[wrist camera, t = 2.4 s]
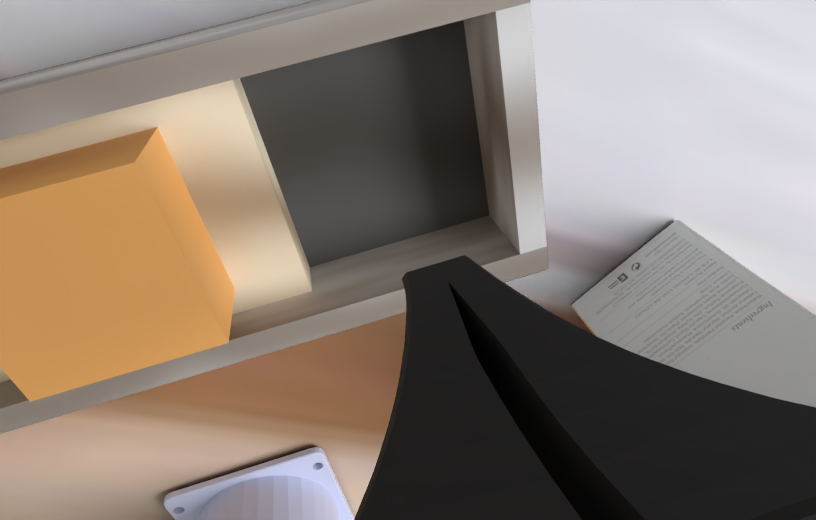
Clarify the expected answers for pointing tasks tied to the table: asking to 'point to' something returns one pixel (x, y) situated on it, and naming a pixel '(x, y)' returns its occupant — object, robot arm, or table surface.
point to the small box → (705, 317)
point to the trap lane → (313, 159)
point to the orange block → (104, 266)
